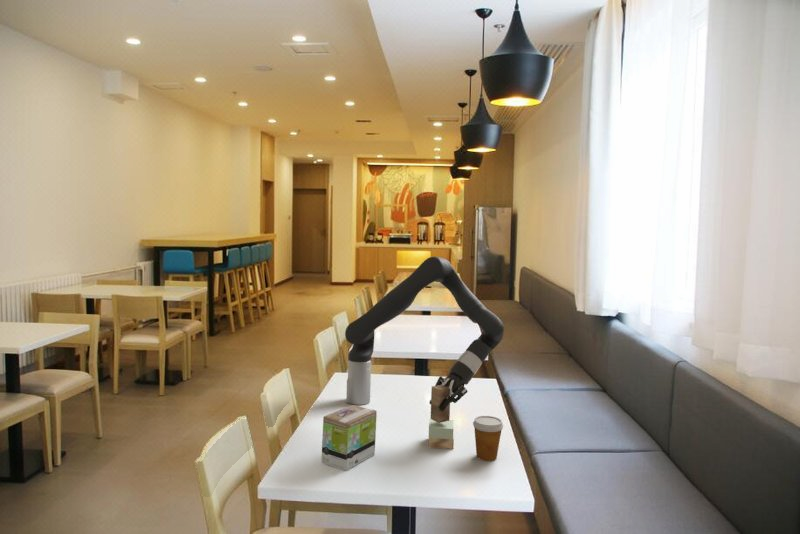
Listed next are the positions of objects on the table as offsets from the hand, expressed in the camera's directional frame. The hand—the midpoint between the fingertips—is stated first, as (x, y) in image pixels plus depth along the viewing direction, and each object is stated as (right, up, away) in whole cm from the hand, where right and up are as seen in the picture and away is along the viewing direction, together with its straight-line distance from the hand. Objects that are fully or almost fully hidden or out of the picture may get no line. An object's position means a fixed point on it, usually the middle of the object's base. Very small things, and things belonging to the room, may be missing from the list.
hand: (435, 407), depth 191 cm
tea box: (-28, -13, -12) cm, 33 cm away
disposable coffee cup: (+16, -14, -8) cm, 22 cm away
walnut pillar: (+1, -5, +1) cm, 5 cm away
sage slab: (+2, -10, +2) cm, 10 cm away
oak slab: (+2, -13, +2) cm, 13 cm away
